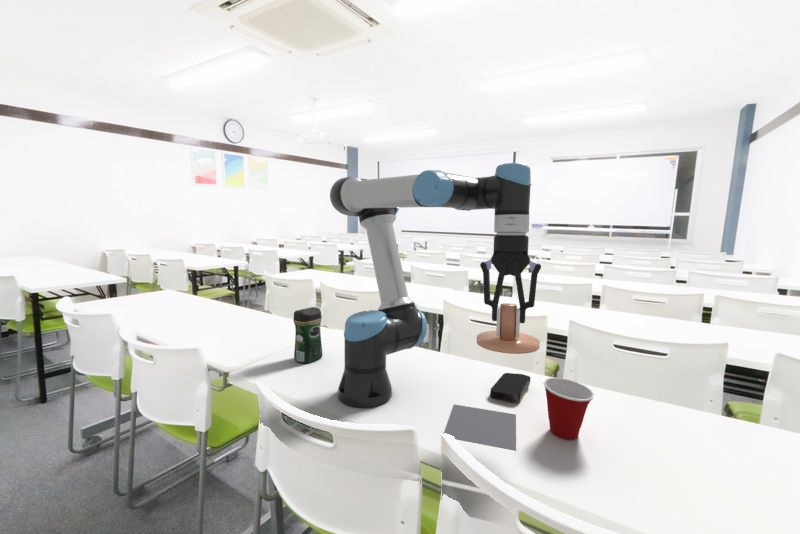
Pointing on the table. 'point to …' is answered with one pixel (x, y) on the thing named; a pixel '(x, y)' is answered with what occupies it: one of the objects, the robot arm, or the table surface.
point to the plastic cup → (566, 406)
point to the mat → (482, 426)
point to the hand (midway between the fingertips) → (507, 335)
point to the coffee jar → (307, 335)
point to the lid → (508, 335)
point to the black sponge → (510, 387)
